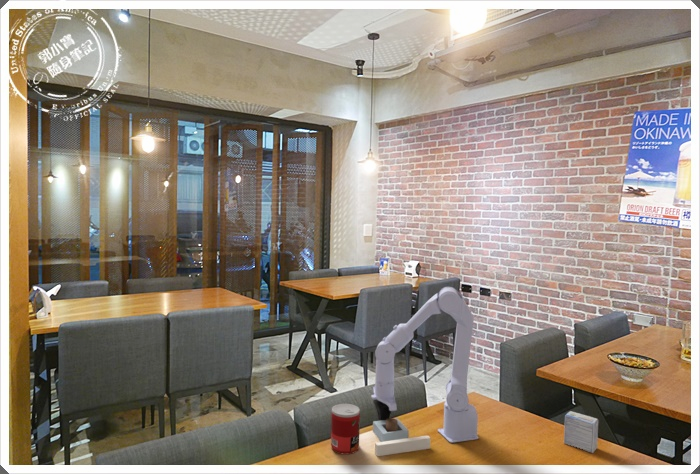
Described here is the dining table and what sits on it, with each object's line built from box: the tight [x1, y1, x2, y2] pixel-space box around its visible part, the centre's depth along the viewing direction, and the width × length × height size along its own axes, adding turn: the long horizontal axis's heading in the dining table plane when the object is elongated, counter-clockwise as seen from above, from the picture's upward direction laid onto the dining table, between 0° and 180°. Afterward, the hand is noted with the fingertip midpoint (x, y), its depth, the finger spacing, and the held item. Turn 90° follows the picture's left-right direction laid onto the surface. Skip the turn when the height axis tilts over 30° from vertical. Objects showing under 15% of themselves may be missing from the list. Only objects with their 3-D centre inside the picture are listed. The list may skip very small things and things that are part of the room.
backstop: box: [374, 434, 431, 457], centre depth 126 cm, size 16×2×3 cm, turn 108°
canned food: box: [330, 403, 361, 455], centre depth 126 cm, size 8×8×11 cm
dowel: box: [386, 417, 398, 432], centre depth 133 cm, size 3×3×5 cm
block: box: [372, 418, 410, 442], centre depth 134 cm, size 8×8×3 cm
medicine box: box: [563, 410, 599, 454], centre depth 131 cm, size 8×4×9 cm, turn 47°
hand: (383, 424), depth 139 cm, fingers closed
